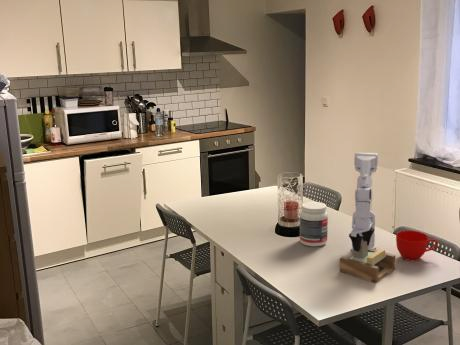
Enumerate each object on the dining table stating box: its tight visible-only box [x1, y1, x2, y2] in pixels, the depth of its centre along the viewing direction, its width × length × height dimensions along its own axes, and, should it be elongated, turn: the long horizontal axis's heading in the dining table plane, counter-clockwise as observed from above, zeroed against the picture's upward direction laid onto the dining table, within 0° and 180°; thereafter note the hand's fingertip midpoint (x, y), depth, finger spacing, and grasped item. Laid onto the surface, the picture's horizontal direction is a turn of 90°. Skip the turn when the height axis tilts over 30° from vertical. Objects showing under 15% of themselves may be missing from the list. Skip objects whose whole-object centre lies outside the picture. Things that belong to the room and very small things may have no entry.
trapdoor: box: [349, 248, 386, 266], centre depth 209 cm, size 12×11×3 cm
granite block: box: [351, 241, 368, 258], centre depth 211 cm, size 4×4×6 cm
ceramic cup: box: [395, 230, 439, 262], centre depth 219 cm, size 13×17×10 cm
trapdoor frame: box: [339, 248, 396, 284], centre depth 210 cm, size 17×16×6 cm
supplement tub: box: [299, 201, 329, 247], centre depth 239 cm, size 13×13×18 cm
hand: (361, 248), depth 210 cm, fingers open, 7 cm apart
